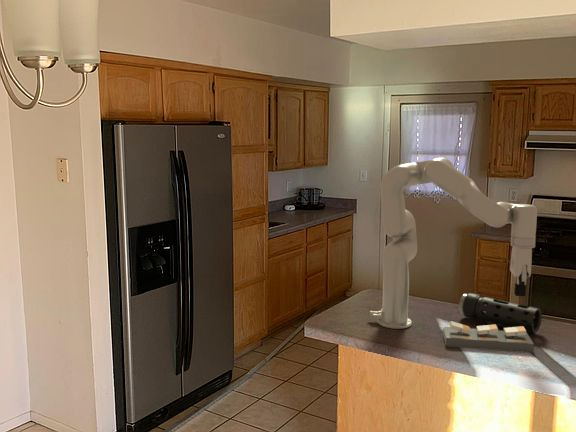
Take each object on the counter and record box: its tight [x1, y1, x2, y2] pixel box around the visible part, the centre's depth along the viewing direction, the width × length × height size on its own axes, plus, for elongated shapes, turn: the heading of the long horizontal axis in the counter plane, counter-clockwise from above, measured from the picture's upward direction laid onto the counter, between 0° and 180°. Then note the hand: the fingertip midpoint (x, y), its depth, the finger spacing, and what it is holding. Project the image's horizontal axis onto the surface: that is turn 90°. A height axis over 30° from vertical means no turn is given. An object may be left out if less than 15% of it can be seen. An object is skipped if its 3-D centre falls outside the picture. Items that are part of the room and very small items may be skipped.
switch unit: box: [442, 326, 535, 354], centre depth 196 cm, size 28×11×4 cm, turn 80°
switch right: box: [503, 326, 527, 336], centre depth 194 cm, size 6×5×2 cm
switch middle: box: [476, 324, 499, 334], centre depth 196 cm, size 6×5×2 cm
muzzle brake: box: [458, 292, 543, 336], centre depth 213 cm, size 10×28×10 cm, turn 47°
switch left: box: [449, 320, 471, 334], centre depth 198 cm, size 6×5×2 cm
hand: (519, 295), depth 192 cm, fingers closed
